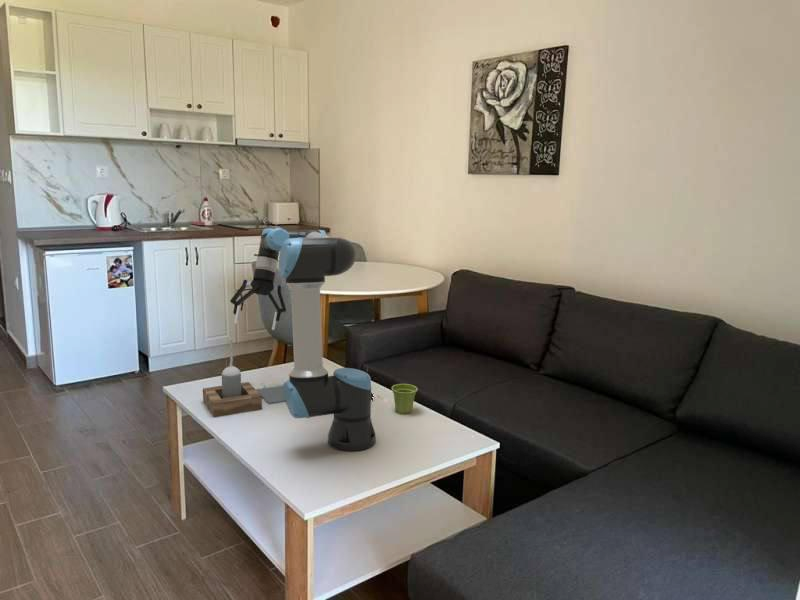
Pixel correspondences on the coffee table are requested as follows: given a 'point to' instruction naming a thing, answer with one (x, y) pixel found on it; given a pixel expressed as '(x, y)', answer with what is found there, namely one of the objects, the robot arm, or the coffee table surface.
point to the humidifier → (231, 379)
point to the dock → (232, 400)
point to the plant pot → (404, 397)
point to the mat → (272, 394)
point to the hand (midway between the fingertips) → (254, 326)
